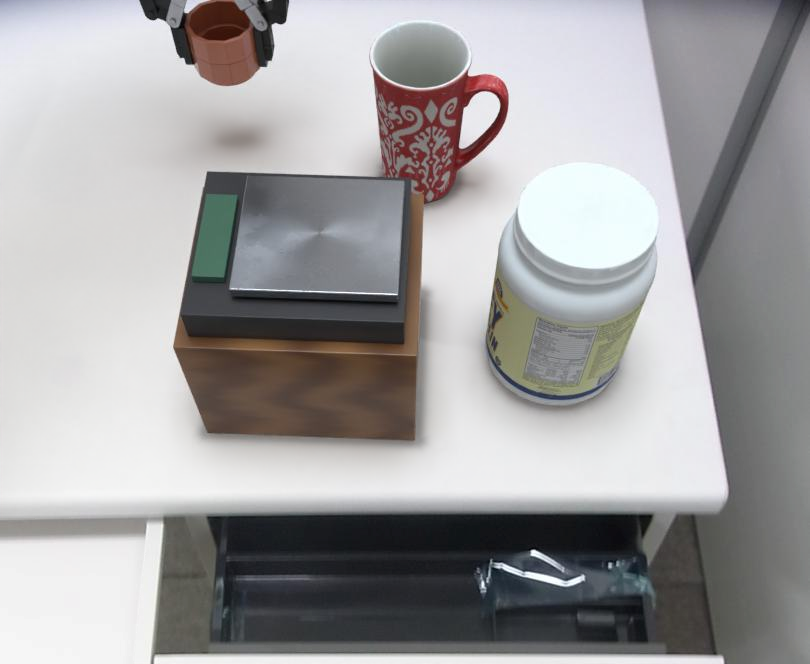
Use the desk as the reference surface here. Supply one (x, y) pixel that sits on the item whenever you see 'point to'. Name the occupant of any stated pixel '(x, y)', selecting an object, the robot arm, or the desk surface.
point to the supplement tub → (571, 282)
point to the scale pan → (319, 239)
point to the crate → (310, 375)
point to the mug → (428, 103)
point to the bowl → (222, 42)
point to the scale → (276, 317)
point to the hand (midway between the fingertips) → (227, 59)
